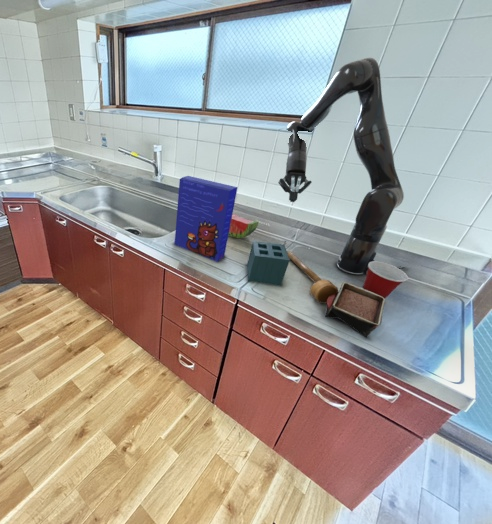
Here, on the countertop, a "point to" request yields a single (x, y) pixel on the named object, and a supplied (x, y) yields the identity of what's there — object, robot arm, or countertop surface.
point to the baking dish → (356, 308)
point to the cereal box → (204, 216)
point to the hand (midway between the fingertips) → (293, 201)
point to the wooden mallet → (316, 282)
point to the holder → (267, 263)
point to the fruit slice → (241, 227)
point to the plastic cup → (383, 278)
